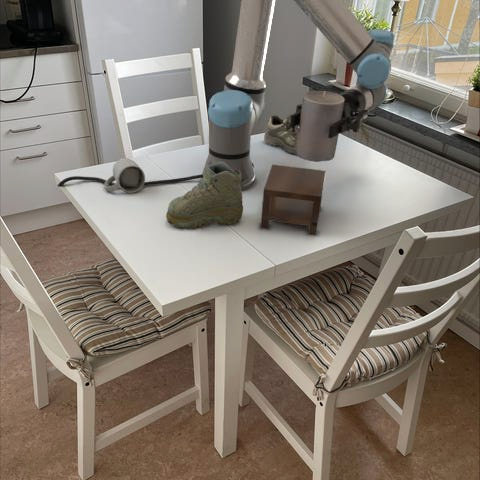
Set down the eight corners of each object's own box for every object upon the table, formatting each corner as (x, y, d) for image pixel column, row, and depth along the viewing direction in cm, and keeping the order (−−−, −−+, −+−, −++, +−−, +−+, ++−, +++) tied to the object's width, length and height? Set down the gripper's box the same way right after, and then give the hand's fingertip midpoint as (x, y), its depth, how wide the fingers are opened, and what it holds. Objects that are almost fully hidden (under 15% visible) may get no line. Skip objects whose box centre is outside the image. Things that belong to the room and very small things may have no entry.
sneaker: (170, 206, 134) (168, 153, 124) (242, 211, 134) (246, 159, 124) (164, 230, 127) (161, 176, 116) (241, 236, 127) (245, 182, 116)
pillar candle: (303, 144, 130) (311, 82, 121) (339, 152, 127) (351, 89, 118) (289, 157, 124) (297, 92, 114) (327, 165, 121) (339, 100, 111)
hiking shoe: (308, 155, 160) (319, 116, 157) (254, 144, 170) (264, 108, 168) (320, 162, 167) (331, 125, 165) (268, 151, 178) (278, 116, 176)
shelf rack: (260, 227, 128) (263, 189, 121) (269, 201, 140) (272, 164, 133) (315, 235, 127) (322, 196, 120) (319, 207, 138) (325, 170, 131)
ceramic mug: (137, 178, 147) (134, 152, 142) (146, 190, 141) (144, 164, 136) (101, 185, 143) (97, 158, 138) (109, 197, 138) (105, 170, 133)
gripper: (389, 129, 130) (351, 155, 115) (313, 109, 139) (269, 131, 125) (396, 98, 125) (357, 121, 111) (317, 80, 134) (271, 99, 120)
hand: (310, 126), depth 118 cm, fingers closed on pillar candle, 10 cm apart
